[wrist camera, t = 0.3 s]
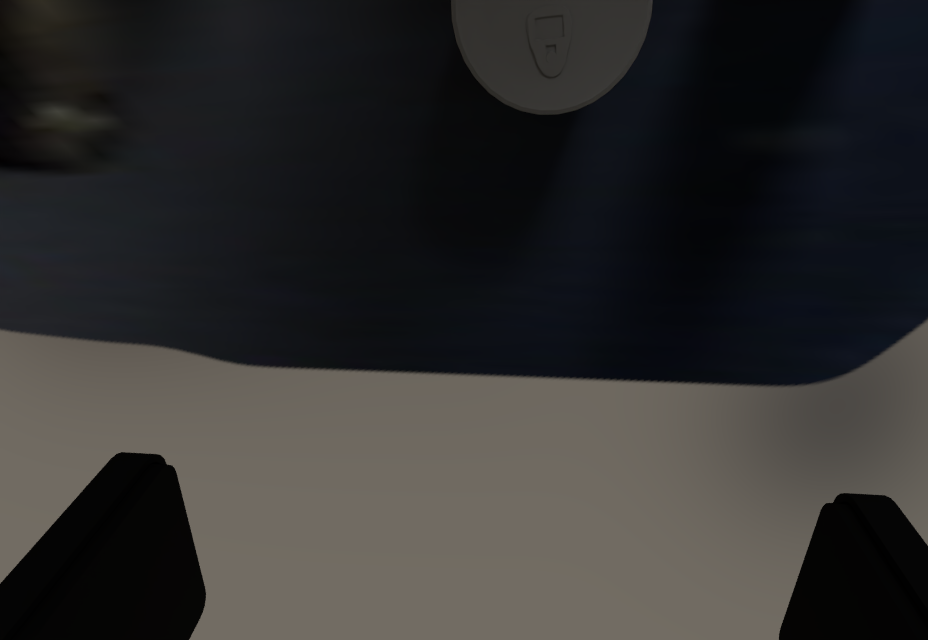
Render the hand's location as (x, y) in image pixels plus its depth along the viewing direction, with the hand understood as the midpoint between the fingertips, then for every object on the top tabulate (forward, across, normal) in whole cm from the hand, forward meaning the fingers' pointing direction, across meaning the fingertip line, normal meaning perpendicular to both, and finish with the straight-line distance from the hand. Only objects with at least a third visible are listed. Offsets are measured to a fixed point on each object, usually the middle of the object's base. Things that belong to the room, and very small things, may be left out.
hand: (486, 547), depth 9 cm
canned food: (+31, -1, -7) cm, 32 cm away
